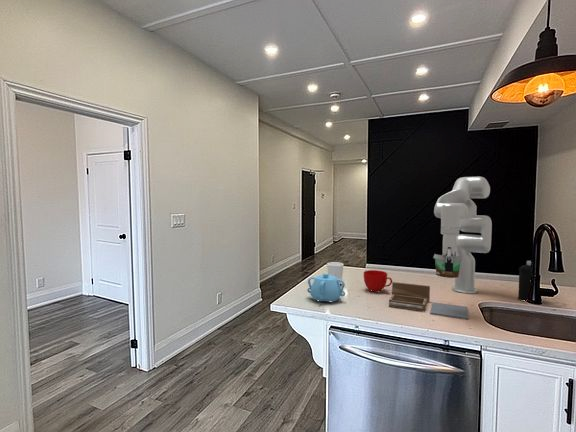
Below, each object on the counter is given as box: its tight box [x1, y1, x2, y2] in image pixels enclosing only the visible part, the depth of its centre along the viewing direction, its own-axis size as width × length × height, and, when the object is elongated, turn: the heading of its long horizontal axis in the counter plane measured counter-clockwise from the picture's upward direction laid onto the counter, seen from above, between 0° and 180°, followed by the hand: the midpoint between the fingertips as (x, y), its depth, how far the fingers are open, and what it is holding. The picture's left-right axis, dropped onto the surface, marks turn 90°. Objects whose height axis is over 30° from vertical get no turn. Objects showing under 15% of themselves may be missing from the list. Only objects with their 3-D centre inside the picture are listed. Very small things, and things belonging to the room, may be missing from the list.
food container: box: [432, 253, 462, 279], centre depth 148 cm, size 12×6×10 cm, turn 77°
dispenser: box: [388, 281, 431, 312], centre depth 159 cm, size 17×18×8 cm
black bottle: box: [517, 260, 532, 301], centre depth 163 cm, size 8×8×20 cm
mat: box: [429, 301, 469, 321], centre depth 149 cm, size 16×15×1 cm
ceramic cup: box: [363, 269, 393, 292], centre depth 181 cm, size 13×17×10 cm
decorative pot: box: [306, 272, 346, 302], centre depth 167 cm, size 16×16×14 cm
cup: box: [326, 261, 344, 285], centre depth 195 cm, size 10×10×13 cm
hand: (449, 269), depth 148 cm, fingers closed on food container, 6 cm apart
